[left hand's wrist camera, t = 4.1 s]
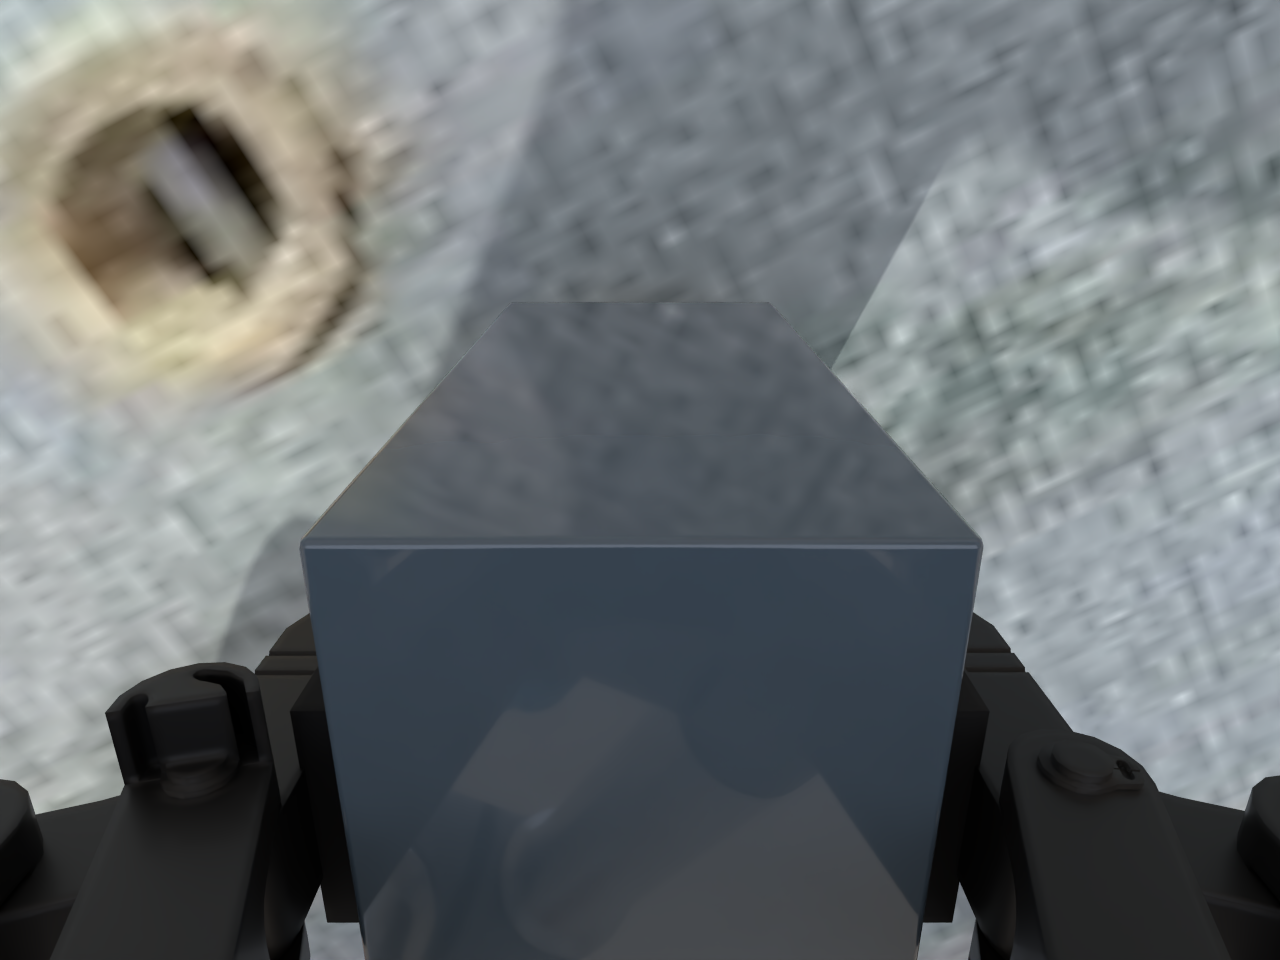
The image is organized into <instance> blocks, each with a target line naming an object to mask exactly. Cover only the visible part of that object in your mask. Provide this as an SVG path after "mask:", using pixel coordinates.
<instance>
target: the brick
mask: <svg viewBox="0 0 1280 960" xmlns="http://www.w3.org/2000/svg"><path fill="white" fill-rule="evenodd" d="M299 549H300V555H301V561H302V568H303V574H304V580H305V586H306V593H307V599H308V605H309V611H310V618H311V624H312V630H313V636H314V643H315V649H316V655H317V661H318V668H319V674H320V680H321V686H322V693H323V699H324V705H325V711H326V718H327V724H328V730H329V736H330V743H331V749H332V755H333V761H334V768H335V774H336V780H337V786H338V793H339V799H340V805H341V811H342V818H343V824H344V830H345V836H346V843H347V849H348V855H349V861H350V868H351V874H352V880H353V887H354V893H355V899H356V905H357V912H358V918H359V924H360V930H361V937H362V943H363V949H364V955H365V960H917V956H918V950H919V943H920V937H921V931H922V925H923V919H924V912H925V906H926V900H927V894H928V888H929V881H930V875H931V869H932V863H933V857H934V850H935V844H936V838H937V832H938V826H939V819H940V813H941V807H942V801H943V794H944V788H945V782H946V776H947V770H948V763H949V757H950V751H951V745H952V739H953V732H954V726H955V720H956V714H957V708H958V701H959V695H960V689H961V683H962V676H963V670H964V664H965V658H966V652H967V645H968V639H969V633H970V627H971V621H972V614H973V608H974V602H975V596H976V590H977V583H978V577H979V571H980V565H981V559H982V552H983V542H982V539H981V537H980V536H979V535H978V534H977V533H976V532H975V531H974V530H973V528H972V527H971V526H970V525H969V524H968V523H967V522H966V521H965V520H964V518H963V517H962V516H961V515H960V514H959V513H958V512H957V511H956V509H955V508H954V507H953V506H952V505H951V504H950V503H949V502H948V501H947V499H946V498H945V497H944V496H943V495H942V494H941V493H940V492H939V490H938V489H937V488H936V487H935V486H934V485H933V484H932V483H931V482H930V480H929V479H928V478H927V477H926V476H925V475H924V474H923V473H922V471H921V470H920V469H919V468H918V467H917V466H916V465H915V464H914V463H913V461H912V460H911V459H910V458H909V457H908V456H907V455H906V454H905V452H904V451H903V450H902V449H901V448H900V447H899V446H898V445H897V444H896V442H895V441H894V440H893V439H892V438H891V437H890V436H889V435H888V433H887V432H886V431H885V430H884V429H883V428H882V427H881V426H880V425H879V423H878V422H877V421H876V420H875V419H874V418H873V417H872V416H871V414H870V413H869V412H868V411H867V410H866V409H865V408H864V407H863V406H862V404H861V403H860V402H859V401H858V400H857V399H856V398H855V397H854V396H853V394H852V393H851V392H850V391H849V390H848V389H847V388H846V387H845V385H844V384H843V383H842V382H841V381H840V380H839V379H838V378H837V377H836V375H835V374H834V373H833V372H832V371H831V370H830V369H829V368H828V366H827V365H826V364H825V363H824V362H823V361H822V360H821V359H820V358H819V356H818V355H817V354H816V353H815V352H814V351H813V350H812V349H811V347H810V346H809V345H808V344H807V343H806V342H805V341H804V340H803V339H802V337H801V336H800V335H799V334H798V333H797V332H796V331H795V330H794V328H793V327H792V326H791V325H790V324H789V323H788V322H787V321H786V320H785V318H784V317H783V316H782V315H781V314H780V313H779V312H778V311H777V309H776V308H775V307H774V306H773V305H772V304H771V303H769V302H512V303H510V304H509V305H508V306H507V307H506V308H505V309H504V311H503V312H502V313H501V314H500V315H499V316H498V317H497V318H496V320H495V321H494V322H493V323H492V324H491V325H490V326H489V327H488V329H487V330H486V331H485V332H484V333H483V334H482V335H481V336H480V338H479V339H478V340H477V341H476V342H475V343H474V344H473V345H472V347H471V348H470V349H469V350H468V351H467V352H466V353H465V354H464V356H463V357H462V358H461V359H460V360H459V361H458V362H457V364H456V365H455V366H454V367H453V368H452V369H451V370H450V371H449V373H448V374H447V375H446V376H445V377H444V378H443V379H442V380H441V382H440V383H439V384H438V385H437V386H436V387H435V388H434V389H433V391H432V392H431V393H430V394H429V395H428V396H427V397H426V398H425V400H424V401H423V402H422V403H421V404H420V405H419V406H418V407H417V409H416V410H415V411H414V412H413V413H412V414H411V415H410V416H409V418H408V419H407V420H406V421H405V422H404V423H403V424H402V425H401V427H400V428H399V429H398V430H397V431H396V432H395V433H394V434H393V436H392V437H391V438H390V439H389V440H388V441H387V442H386V443H385V445H384V446H383V447H382V448H381V449H380V450H379V451H378V452H377V454H376V455H375V456H374V457H373V458H372V459H371V460H370V461H369V463H368V464H367V465H366V466H365V467H364V468H363V469H362V470H361V472H360V473H359V474H358V475H357V476H356V477H355V478H354V479H353V481H352V482H351V483H350V484H349V485H348V486H347V487H346V488H345V490H344V491H343V492H342V493H341V494H340V495H339V496H338V497H337V499H336V500H335V501H334V502H333V503H332V504H331V505H330V506H329V508H328V509H327V510H326V511H325V512H324V513H323V514H322V516H321V517H320V518H319V519H318V520H317V521H316V522H315V523H314V525H313V526H312V527H311V528H310V529H309V530H308V531H307V532H306V534H305V535H304V536H303V537H302V538H301V541H300V544H299Z"/></svg>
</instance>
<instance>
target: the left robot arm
mask: <svg viewBox="0 0 1280 960" xmlns="http://www.w3.org/2000/svg"><path fill="white" fill-rule="evenodd" d="M105 714H106V718H107V722H108V725H109V729H110V733H111V736H112V740H113V744H114V747H115V751H116V755H117V758H118V762H119V766H120V769H121V773H122V777H123V780H124V784H125V786H124V788H123V790H122V793H121V795H120V796H116V797H113V798H109V799H105V800H102V801H97V802H93V803H88V804H83V805H79V806H74V807H69V808H65V809H60V810H55V811H51V812H46V813H41V814H36V815H35V812H34V809H33V806H32V803H31V799H30V796H29V793H28V791H27V790H26V789H24V788H23V787H22V786H20V785H19V784H18V783H17V782H15V781H9V780H2V779H0V960H310V950H309V943H308V937H307V931H306V926H305V921H304V920H305V918H306V916H307V914H308V911H309V909H310V907H311V904H312V902H313V900H314V898H315V895H316V893H317V891H318V888H319V886H320V884H321V890H322V896H323V901H324V907H325V913H326V918H327V923H357V922H359V918H358V912H357V905H356V899H355V893H354V887H353V880H352V874H351V868H350V861H349V855H348V849H347V843H346V836H345V830H344V824H343V818H342V811H341V805H340V799H339V793H338V786H337V780H336V774H335V768H334V761H333V755H332V749H331V743H330V736H329V730H328V724H327V718H326V711H325V705H324V699H323V693H322V686H321V680H320V674H319V668H318V661H317V655H316V649H315V643H314V636H313V630H312V624H311V618H310V613H309V614H308V615H306V616H305V617H303V618H301V619H300V620H298V621H297V622H295V623H294V624H292V625H291V626H289V627H288V628H286V630H285V631H284V632H283V634H282V635H281V636H280V638H279V639H278V640H277V642H276V643H275V644H274V646H273V647H272V648H271V650H270V651H269V656H265V658H264V659H263V660H262V662H261V663H260V664H259V666H258V667H257V668H256V670H255V674H254V673H253V672H251V671H250V670H249V669H248V668H246V667H244V666H239V665H235V664H230V663H226V662H221V663H198V664H193V665H189V666H185V667H180V668H176V669H171V670H168V671H166V672H163V673H161V674H158V675H156V676H153V677H151V678H149V679H146V680H144V681H142V682H140V683H139V684H137V685H135V686H134V687H132V688H131V689H129V690H128V691H126V692H125V693H123V694H122V695H120V696H119V697H118V698H117V699H116V701H115V702H114V703H113V704H112V705H111V706H110V708H109V709H108V710H107V711H106V712H105ZM959 881H960V883H961V886H962V888H963V890H964V892H965V895H966V897H967V899H968V901H969V904H970V906H971V908H972V911H973V913H974V915H975V917H976V921H975V926H974V931H973V937H972V942H971V947H970V952H969V958H968V960H1280V776H1273V777H1266V778H1264V779H1263V780H1262V781H1260V782H1259V783H1258V784H1256V785H1255V786H1254V787H1253V788H1252V791H1251V794H1250V797H1249V800H1248V803H1247V806H1246V809H1245V811H1242V810H1237V809H1233V808H1228V807H1223V806H1218V805H1214V804H1209V803H1204V802H1200V801H1195V800H1190V799H1185V798H1181V797H1177V796H1173V795H1170V794H1166V793H1162V792H1159V791H1158V789H1157V786H1156V784H1155V783H1154V781H1153V780H1152V779H1151V777H1150V776H1149V774H1148V773H1147V772H1146V770H1145V769H1144V767H1143V766H1142V765H1141V764H1139V763H1138V762H1137V761H1135V760H1134V759H1133V758H1131V757H1130V756H1129V755H1127V754H1126V753H1125V752H1123V751H1122V750H1121V749H1118V748H1116V747H1114V746H1112V745H1110V744H1108V743H1106V742H1104V741H1101V740H1099V739H1097V738H1095V737H1092V736H1088V735H1084V734H1080V733H1076V732H1073V731H1072V729H1071V728H1070V727H1069V725H1068V724H1067V723H1066V721H1065V720H1064V719H1063V717H1062V716H1061V715H1060V713H1059V712H1058V711H1057V709H1056V708H1055V707H1054V705H1053V704H1052V703H1051V701H1050V700H1049V699H1048V697H1047V696H1046V695H1045V693H1044V692H1043V691H1042V689H1041V688H1040V687H1039V686H1038V684H1037V683H1036V682H1035V680H1034V679H1033V678H1032V676H1031V675H1030V674H1029V672H1025V667H1024V666H1023V664H1022V663H1021V662H1020V660H1019V659H1018V658H1017V656H1016V655H1015V654H1014V653H1011V648H1010V647H1009V646H1008V644H1007V643H1006V642H1005V640H1004V639H1003V638H1002V636H1001V635H1000V634H999V632H998V631H997V630H996V628H995V627H994V626H993V625H992V624H990V623H989V622H987V621H986V620H984V619H983V618H981V617H979V616H978V615H976V614H975V613H973V614H972V621H971V627H970V633H969V639H968V645H967V652H966V658H965V664H964V670H963V676H962V683H961V689H960V695H959V701H958V708H957V714H956V720H955V726H954V732H953V739H952V745H951V751H950V757H949V763H948V770H947V776H946V782H945V788H944V794H943V801H942V807H941V813H940V819H939V826H938V832H937V838H936V844H935V850H934V857H933V863H932V869H931V875H930V881H929V888H928V894H927V900H926V906H925V912H924V919H923V922H946V923H952V921H953V915H954V909H955V904H956V898H957V892H958V887H959Z"/></svg>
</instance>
